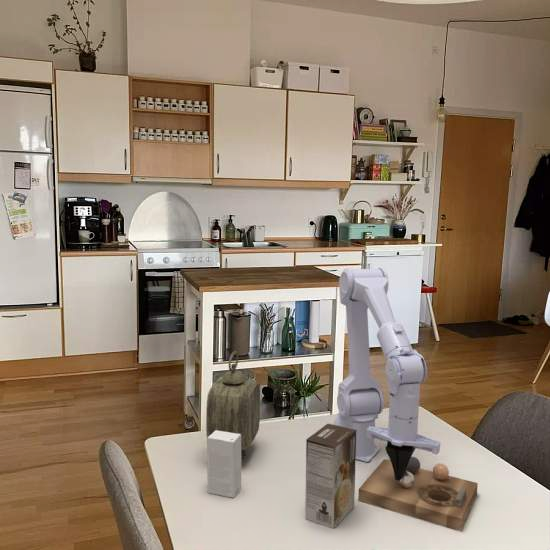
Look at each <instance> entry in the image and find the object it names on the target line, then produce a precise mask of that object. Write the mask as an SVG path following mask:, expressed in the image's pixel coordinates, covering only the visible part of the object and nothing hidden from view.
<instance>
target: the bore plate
mask: <svg viewBox="0 0 550 550" xmlns="http://www.w3.org/2000/svg"><path fill="white" fill-rule="evenodd" d="M406 471H408V470H407V469H406ZM408 472H409V471H408ZM411 473H412V474H413V476H414V478H415V482H414V485H413V486H412V487H410V488H405V487H403V486H401V485H400V483H399V481H398V480H395V475H394V470H393V466H392V463H391V461H390V459H387V458H386V459H385V458H383V460H382V461H381V462H380V463H379V464H378V465H377V466H376V468H375V469H374V470H373V472H372V473H371V474H369V476H368V477H367V478H366V480H364V482H363V483H362V484H361V485H360V487H359V488H358V498H357V499H358V501H359V502H362V503H366V504H368V505H373V506H376V507H379V508H381V509H386V510H389V511H392V512H396V513H398V514H402V515H405V516H408V517H411V518H415V519H419V520H422V521H424V522H425V521H426V522H429V523H432V524H435V525H438V526H440V527H445V528H449V529H452V530H455V531H458V532H462V530H463V527H464V525H465V523H466V520H467V518H468V516H469V515H470V511H471V509H472V507H473V505H474V502H475V500H476V498H477V495H478V485H479V483H478V482H475V481H471V480H468V479H463V478H459V477H455V476H452V475H448V477H447V478H446V479H444V480H439V479H437V478H436V477H435V476H434V474H433V470H428V469H424V468H419V470H418V471H416V472H411Z"/></svg>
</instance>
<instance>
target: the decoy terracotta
mask: <svg viewBox="0 0 550 550" xmlns="http://www.w3.org/2000/svg"><path fill="white" fill-rule="evenodd" d="M432 472H433V474H434V476H435V477H436V478H437V479H439V480H444V479H446V478H447V477H448V476H450V475H449V474H450V471H449V468H448V467H447V465H445V464H444V463H437V464H435V465H434V466H433V468H432Z"/></svg>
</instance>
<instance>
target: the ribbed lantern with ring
mask: <svg viewBox="0 0 550 550" xmlns="http://www.w3.org/2000/svg"><path fill="white" fill-rule="evenodd" d="M234 356H236V359H235V363H232V360H233V357H234ZM238 363H239V353H238V351H237V350H234V351H232V352H231V353H230V356H229V360H228V371H227V372H226V373H224V375H222V376H220V377H218V379H217V380H215V382H214V383H213V384H212V386H211V387H210V388H209V391H208V393H207V398H206V399H207V400H206V415H205V416H206V417H205V423H206V424H205V425H206V427H205V428H206V438H207V437H209V436H210V435H211V434H212V433H213V432H214V431H215V430H217V431H224V432H230V433H237V434H241V458H245V457H246V456H247V451H246V450H245V449H248V448H249V447H250V446H251V445H252V444H253V442H254V441H255V439H256V436H257V434H258V432H259V430H260V422H261V420H260V419H261V385H260V383H259V382H257V381H256V380H254V379H253V378H245V376H244V375H243V373H242V372H241V371H239V370H237V367H238Z"/></svg>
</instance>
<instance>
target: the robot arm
mask: <svg viewBox="0 0 550 550" xmlns="http://www.w3.org/2000/svg"><path fill="white" fill-rule="evenodd" d="M338 286H339V287H338V289H339V299H340V300H339V301H340V305H341V304H342V305H343V306H345V310H346V311H345V312H346V313H345V314H346V330H347V352H348V353H347V354H348V370H349V371H348V376H347V377H345V378H344V379H343V380H342V381H340V383H339V384H338V387H337V390H338V391H337V392H338V393H337V397H336V404H337V410H338V413H337V414H336V415H335V418H334V421H333V424H332V425H337V426H342V427H346V428H350V429H354V430H357V431H356V459H355V460H357V461H361V462H365V463H369V462H371V460H372V459H373V458H374V457H375V456H376V455H377V454H378V452H379V451H380V450H381V449H380V447H378V446H375V439H376V440H380V441H384V442H386V445H385V452H386V454H387V456H388V459H389V460H390V461H391V463H392V466H393V470H394V475H395V480H398V481H400V480H401V478H402V475H403V473H404V471H406V468H407V465H408V463H409V460H410V458H411V457H413V454H414V452H415V450H416V449H418V450H422V451H426V452H430V453H431V454H433V455H436V456H437V455H438V454H439V453H440V452H441V442H440V441H438V440H434V439H432V438H429V437H426V436H424V435H421V434H419V433H418V431H419V430H418V429H419V410H420V408H419V407H420V406H419V405H420V392H421V389H420V388H421V384H423V383H424V382H425V381H426V378H427V374H428V369H427V368H428V367H427V364H426V361H425V358H424V357H423V355H422V354H420V353H418V350H417V349H413V347H412V345H411V343H410V340H409V338H408V335H407V333H406V331H405V329H404V325H402V324H400V323H398V322H396V320H395V317H394V313H393V310H392V307H391V305H390V301H389V298H388V296H387V295H388V291H389V277H388V273H387V272H386V270H385V269H384V268H383V267H378V268H358V269H357V268H355V269H354V268H353V269H352V268H351V269H350V268H344V269H343V271H342V272H341V274H340V277H339V279H338ZM368 309H369V311H370V313H371V315H372V317H373V319H374V320H375V323H376V325H377V326H378V328H379V329H378V330H377V334H376V337H377V341H378V343H379V346H380V348H381V350H382V353H383V355H384V358H385V361H386V363H385V366H384V367H385V368H384V371H385V377H386V380H387V381H386V382H387V385H386V386H387V390H388V392H389V407H388V427H378V426H377V427H376V420H377V419H379V415H381V414H382V413H383V410H384V407H385V399H384V394H383V392H382V386H381V383H380V382H379V381H378V380H377V379H376V378H374V377H372V375H371V356H370V339H369V334H370V333H369V319H368V318H369V315H368Z"/></svg>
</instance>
